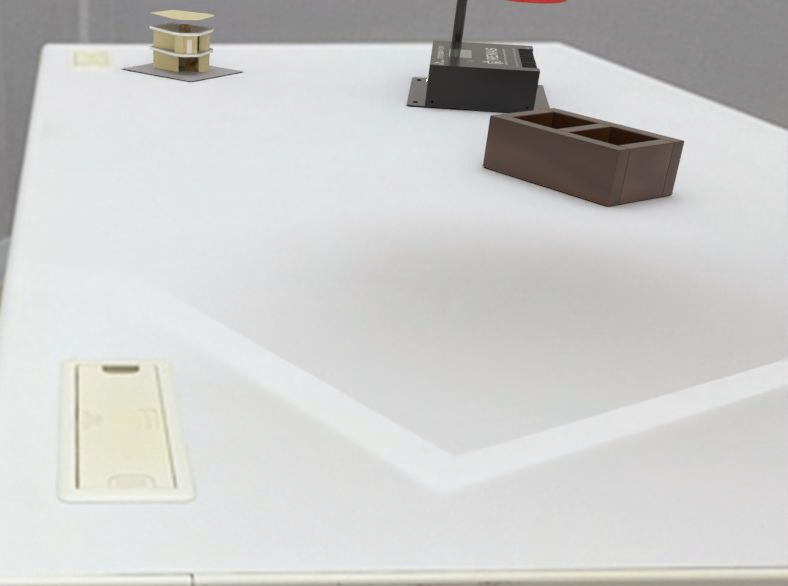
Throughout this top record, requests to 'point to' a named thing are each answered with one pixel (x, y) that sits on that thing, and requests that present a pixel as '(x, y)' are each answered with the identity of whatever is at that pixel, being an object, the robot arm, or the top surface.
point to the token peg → (539, 1)
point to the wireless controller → (479, 75)
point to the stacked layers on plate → (182, 49)
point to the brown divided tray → (583, 155)
